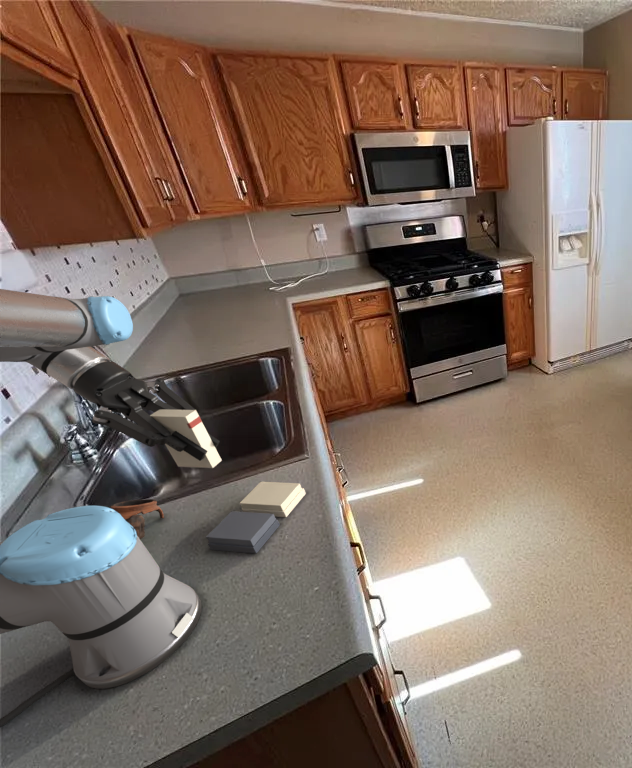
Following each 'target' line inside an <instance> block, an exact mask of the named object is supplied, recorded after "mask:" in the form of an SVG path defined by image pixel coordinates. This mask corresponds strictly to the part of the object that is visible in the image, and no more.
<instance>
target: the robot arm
mask: <svg viewBox="0 0 632 768" xmlns="http://www.w3.org/2000/svg"><path fill="white" fill-rule="evenodd" d="M133 323H134V321H133V320H132V317H131V314H130V311H129V310H128V308H127V307H126V305H125V304H124V303H123V302H121V301H120V300H119V299H117V298H115V297H113V296H108V295H102V296H101V295H100V296H93V295H92V296H88V297H84V298H69V297H62V296H53V295H45V294H40V293H39V294H38V293H31V292H25V291H18V290H10V289H5V288H0V363H27V364H29V365H31V366H32V367H34V368H36V369H37V370H39V371H40V372H43V373H44V374H46V375H47V376H49V377H51V378H52V379H54V380H56V381H57V382H59V383H60V384H62V385H64V386H65V387H67V388H68V389H70V390H73V391H74V393H76V394H77V395H78V396H80V397H82V398H83V399H84V400H86V401H88V402H90V403H92V404H95V405H96V407H97V410H95V412H94V414H93V417H92V423H93V424H95V425H99V426H100V425H101V426H105V427H109V428H111V429H113V430H115V431H117V432H119V433H121V434H122V435H125V436H127V437H129V438H131V439H133V440H135V441H137V442H138V443H141V444H144V445H145V446H147V447H150V448H152V447H155V446H156V445H160V446H164V445H165V444H167V445H169V446H170V447H172V448H173V449H175V450H176V451H179V452H181V451H183V450H184V451H185V452H187V453H188V454H190V455H191V456H193V457H195V458H196V459H198V460H199V461H201V460H202V459H203V458H204V456H205V455H206V453H207V450H205V449H204V448H202V447H200V446H199V445H197V444H196V443H194V442H193V441H191V440H190V439H188V438H186V437H185V436H183V435H182V434H180V433H179V432H177V431H175V432H173V433H172V435H171V434H170V431H169V430H167V429H166V428H165V427H164V426H162V425H161V424H160V423H159V422H157V421H156V420H155V419H154V418H152V417H151V416H150V415H151V414H149V413H148V411H151V412H152V413H155V412H156V411H158V410H160V409H166V410H196V409H195V408H194V407H193V406H192V405H191V404H189V402H187V401H186V400H184V399H183V398H182V397H181V396H180V395H178V394H177V393H176V392H174V391H173V390H172V389H171V388H170V387H168V385H167V383H166V382H165V380H164V379H163V378H160V377H159V378H156V379H155V381H149V382H146V381H144V380H142V379H138V378H136V377H135V376H133V374H132V373H131V372H130V371H129V370H127V369H125V368H124V367H123V366H122V365H120V364H118V363H117V362H115V361H111V359H110V358H109V357H108V356H106V355H105V354H103V353H101V352H100V351H99V350H97V349H96V348H94V347H96V346H97V347H98V346H103V345H105V346H108V345H110V344H114V343H120V342H124V341H126V340H128V339H130V337H131V336H132V335H133V331H134V324H133ZM150 391H151V392H152V393H151V392H150ZM155 394H156V395H155ZM146 411H147V412H146ZM117 413H118V414H117ZM119 414H122V415H123V416H124V417H123V416H122V415H119ZM205 429H206V431H207V432H208V429H207V428H206V427H205ZM208 435H209V436H210V438H211V440H212V442H213V444H214V446H215V448H216V449H217V447H218V446H219V444H220V440H219V439H217V438H216V437H214V436H213V435H211V434H210V433H208ZM165 446H166V445H165ZM202 605H203V604H202V600H201V598H200V596H199V594H198V593H197V592H196V590H195V589H194V588H193V587H192V586H191V585H189V584H186V583H185V582H182V581H181V580H178V579H176V578H174V577H171V575H168V574H166V573H165V572H164V571H163V570H162V569H161V567H160V565H158V563H157V561H156V560H155V558H154V557H153V556H152V554H151V553H150V552H149V550H148V549H147V547H146V546H145V544H144V543H143V542H142V539H139V537H138V536H137V533H136V531H135V529H134V528H133V527H132V526H131V525H130V524H129V523H128V522H127V521H126V520H125V519H124V518H123V517H122V516H121V515H120V514H119V513H118V512H116V511H115V510H113V509H111V508H110V507H108V506H103V505H83V506H82V505H81V506H75V507H70V508H66V509H62V510H58V511H56V512H52V513H50V514H47V516H46V517H45V518H43V519H35V520H33V521H31V522H29V523H28V524H25V525H23V526H22V527H20V528H19V529H17V530H16V531H13V533H11V534H10V535H8V537H7V538H5V539H4V541H0V635H2V634H6V633H9V632H12V631H16V630H19V629H22V628H26V627H30V626H34V625H38V624H41V623H45V622H49V623H52V624H53V625H54V626H55V627H56V629H58V630H59V631H60V632H61V633H62V634H63V635H64V636H65V637H66V638H67V642H68V647H69V651H70V656H71V662H72V668H71V669H69V670H68V671H67V672H65V673H63V674H62V675H61V676H59V677H58V678H56V679H55V680H53V681H52V682H50V683H49V684H47V685H46V686H45V687H43V688H41V689H40V690H39V691H37V692H35V693H34V694H33V695H31V696H30V697H28V698H27V699H25V700H24V701H23V702H21V703H20V704H19V705H18V706H17V707H15V708H14V709H12V710H10V711H9V712H8V713H7V714H5V715H4V716H2V717H1V718H0V728H1V727H3V726H4V725H6V724H8V723H10V721H12V720H13V719H15V718H16V717H18V716H19V715H20V714H21V713H23V712H24V711H26V710H27V709H28V708H30V707H31V706H33V704H35V703H36V702H38V701H40V699H42V698H43V697H45V696H46V695H48V694H50V693H51V692H52V691H53V690H55V689H57V688H59V686H61V685H62V684H64V683H65V682H67V681H68V680H69V679H71V678H73V676H76V677H77V678H78V680H80V681H81V682H82V683H83V684H84V685H85V686H87V687H89V688H92V689H98V690H101V689H103V690H104V689H111V688H115V687H118V686H122V685H126V684H128V683H130V682H133V681H135V680H136V679H138V678H140V677H142V676H145V675H146V674H148V673H149V672H151V671H152V670H154V669H155V668H156V667H158V666H159V665H161V664H163V662H165V661H166V660H167V659H168V658H169V657H171V656H172V655H173V654H174V653H175V652H177V650H179V648H180V647H181V646H182V645H183V644H184V643H185V642H186V640H188V638H189V637H190V635H191V634H192V632H193V631H194V630H195V628H196V626H197V625H198V622H199V620H200V617H201V614H202V609H203V606H202Z"/></svg>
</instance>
